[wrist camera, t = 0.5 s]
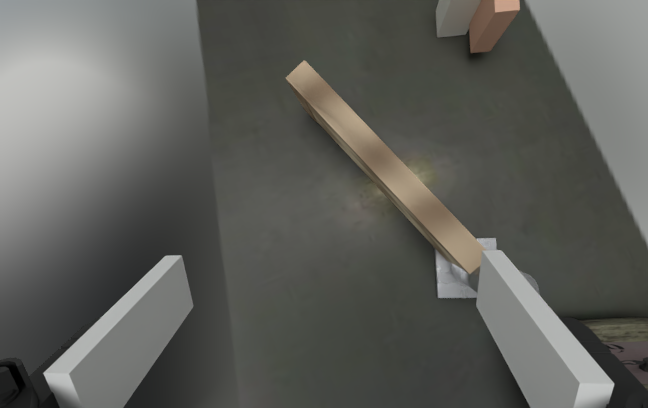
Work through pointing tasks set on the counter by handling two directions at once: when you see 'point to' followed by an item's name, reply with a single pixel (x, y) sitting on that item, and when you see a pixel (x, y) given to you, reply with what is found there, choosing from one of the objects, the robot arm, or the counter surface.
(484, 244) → the hinge post
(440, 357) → the counter surface
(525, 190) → the counter surface
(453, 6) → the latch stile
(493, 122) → the counter surface
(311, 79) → the gate
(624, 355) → the tabletop clock
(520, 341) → the robot arm
